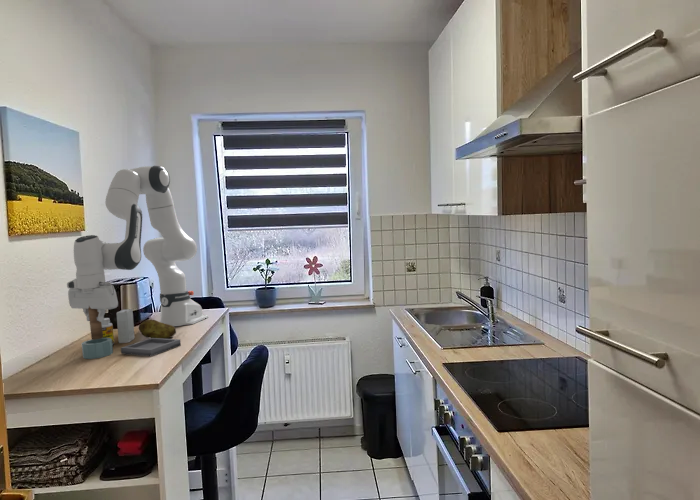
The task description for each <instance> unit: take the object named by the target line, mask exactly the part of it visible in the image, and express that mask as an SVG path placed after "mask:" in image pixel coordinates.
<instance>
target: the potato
mask: <svg viewBox="0 0 700 500" xmlns="http://www.w3.org/2000/svg"><path fill="white" fill-rule="evenodd" d="M138 330H139V332H140V333H141V335H142V336H143V337H145V338H147V339H149V338H163V339H171V338H172V337H174V336H175V334H176V333H177V330H176V326H172V325H169V324H164V323H161V322H160V321H158V320H155V319H145V320H143V321H142V322H141V323H140V324H139V325H138Z"/></svg>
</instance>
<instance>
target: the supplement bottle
mask: <svg viewBox="0 0 700 500" xmlns="http://www.w3.org/2000/svg"><path fill="white" fill-rule="evenodd" d="M101 323H102V332H103V338H111V339H112V346H113V345H114V344H115V338H114V325H113V323H112V322H111V320H110V317H104V321H101Z"/></svg>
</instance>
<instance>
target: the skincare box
mask: <svg viewBox="0 0 700 500" xmlns="http://www.w3.org/2000/svg"><path fill="white" fill-rule="evenodd" d="M133 312H134V311H133V308H129V309H121V310H120V311H117V312H116V324H117V325H116V327H117V337H118V339H117V341H118V344H127V343H131V342H132V341H133V340H134V339H135V324H134V323H135V322H134V313H133Z"/></svg>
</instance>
